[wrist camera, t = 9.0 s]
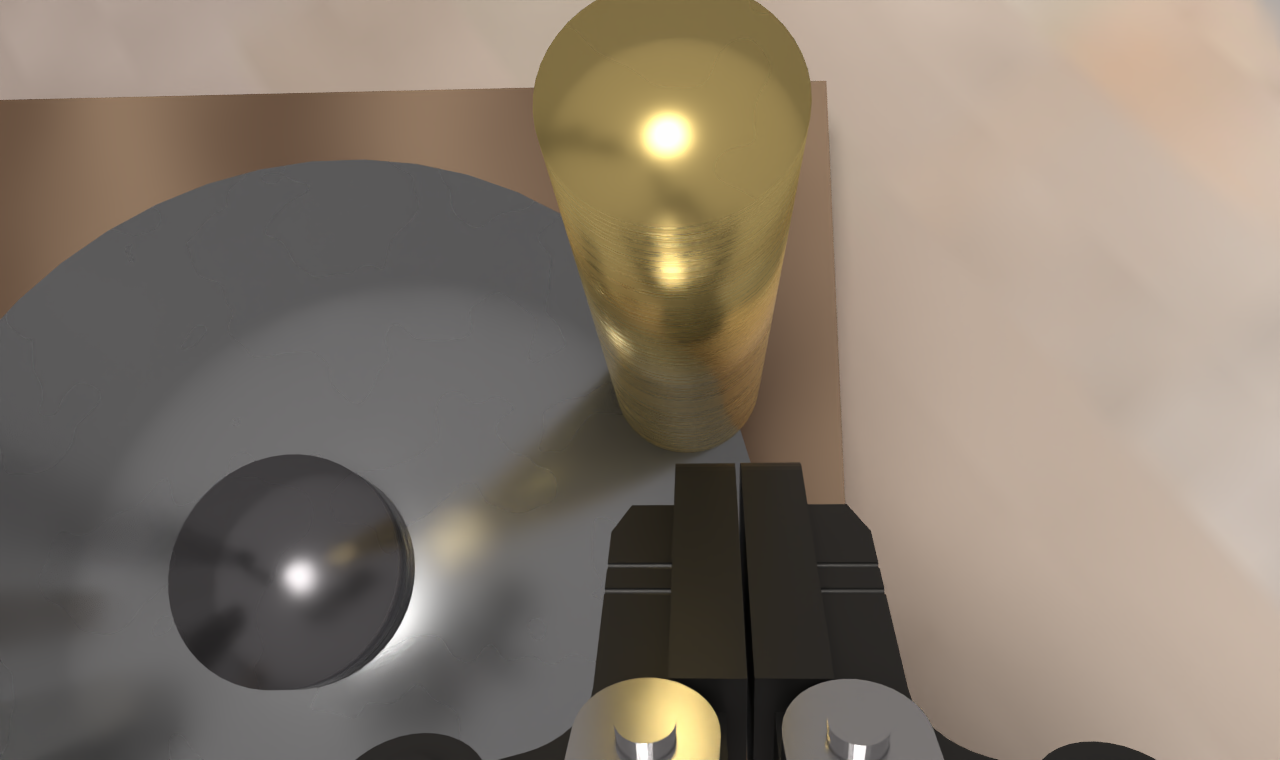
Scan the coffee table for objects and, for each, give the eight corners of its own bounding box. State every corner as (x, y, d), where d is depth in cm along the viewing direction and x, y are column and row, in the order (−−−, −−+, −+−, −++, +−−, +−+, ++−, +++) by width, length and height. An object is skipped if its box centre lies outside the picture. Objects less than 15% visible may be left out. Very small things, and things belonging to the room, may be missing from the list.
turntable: (-385, 1166, 19) (-758, 1333, 14) (-144, 150, 24) (-352, 20, 20) (859, 1215, 18) (918, 1417, 13) (815, 131, 23) (845, -15, 18)
